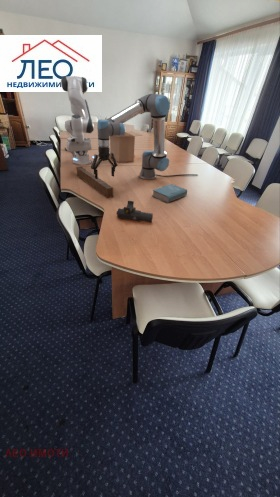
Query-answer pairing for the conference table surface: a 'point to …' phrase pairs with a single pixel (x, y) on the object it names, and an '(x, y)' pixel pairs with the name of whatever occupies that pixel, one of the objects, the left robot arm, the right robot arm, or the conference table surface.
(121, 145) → the box
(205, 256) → the conference table surface
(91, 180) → the bar
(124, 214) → the laser sight
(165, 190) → the book
